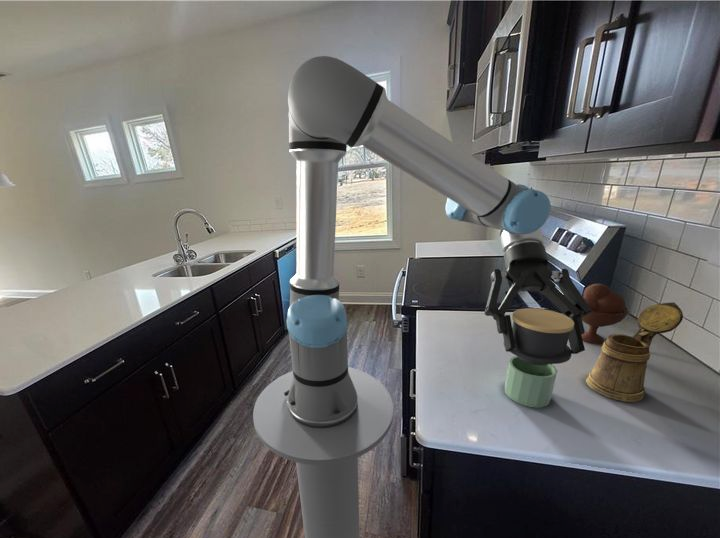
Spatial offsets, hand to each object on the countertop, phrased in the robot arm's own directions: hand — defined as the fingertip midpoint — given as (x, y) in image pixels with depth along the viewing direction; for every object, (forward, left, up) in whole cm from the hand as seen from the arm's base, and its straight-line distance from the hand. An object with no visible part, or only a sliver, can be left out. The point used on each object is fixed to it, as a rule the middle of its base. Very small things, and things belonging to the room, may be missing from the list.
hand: (543, 350), depth 59 cm
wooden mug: (+19, +11, -12) cm, 25 cm away
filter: (0, +3, -3) cm, 4 cm away
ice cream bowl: (+21, +33, -12) cm, 41 cm away
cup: (0, +3, -12) cm, 12 cm away
